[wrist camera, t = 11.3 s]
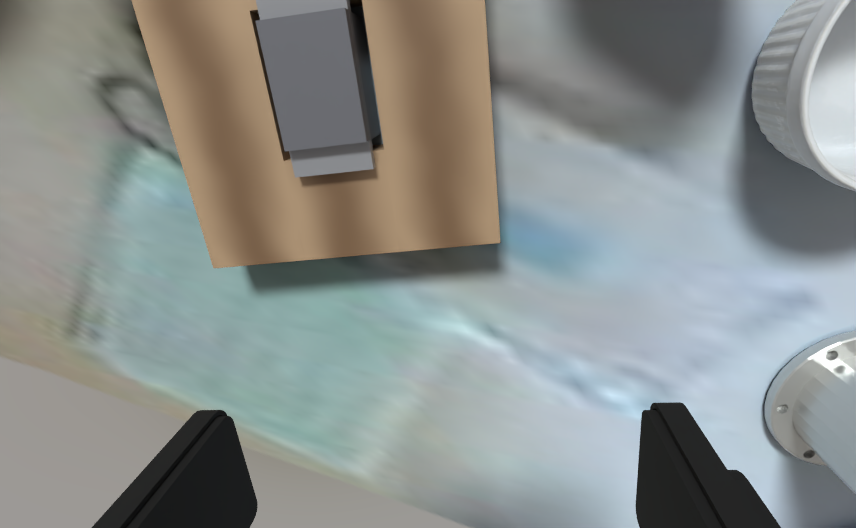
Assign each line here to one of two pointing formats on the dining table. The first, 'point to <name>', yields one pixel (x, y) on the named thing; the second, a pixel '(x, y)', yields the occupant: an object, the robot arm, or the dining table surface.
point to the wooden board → (339, 192)
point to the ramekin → (811, 88)
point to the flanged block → (320, 84)
